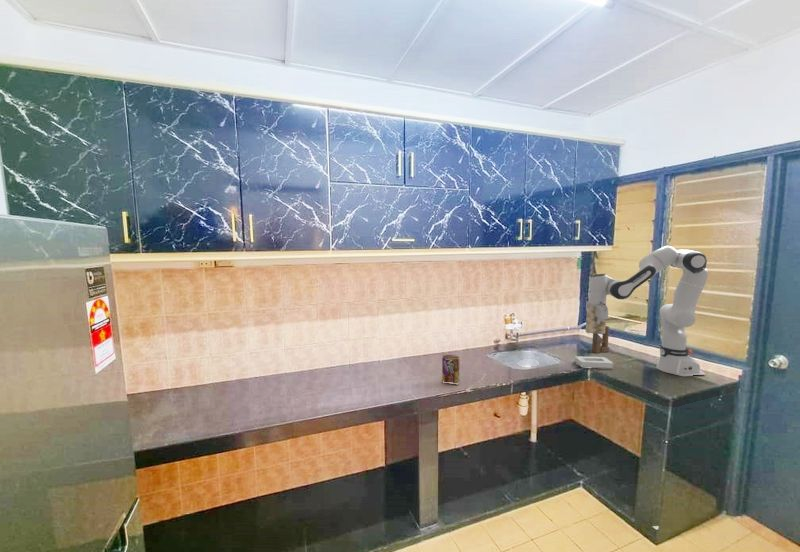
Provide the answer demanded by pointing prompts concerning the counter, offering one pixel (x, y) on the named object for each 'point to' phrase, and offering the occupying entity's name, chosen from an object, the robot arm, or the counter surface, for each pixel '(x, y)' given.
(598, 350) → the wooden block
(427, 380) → the counter surface
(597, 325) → the mottled tan box
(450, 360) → the candy box
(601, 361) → the end cap
